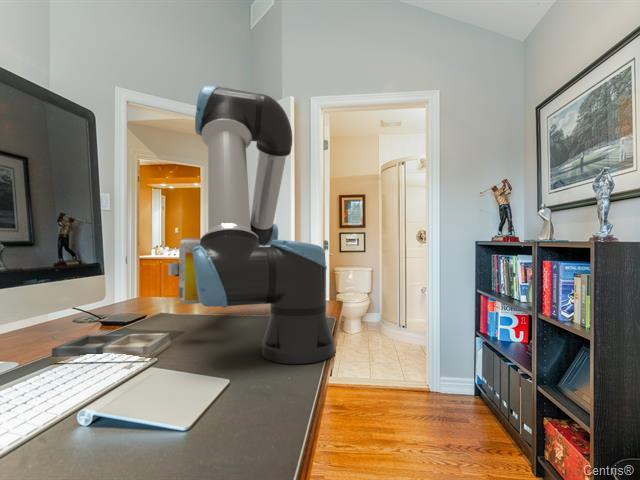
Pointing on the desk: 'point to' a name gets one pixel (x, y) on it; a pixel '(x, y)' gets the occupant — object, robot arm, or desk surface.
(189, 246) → the beer can
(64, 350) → the socket board
